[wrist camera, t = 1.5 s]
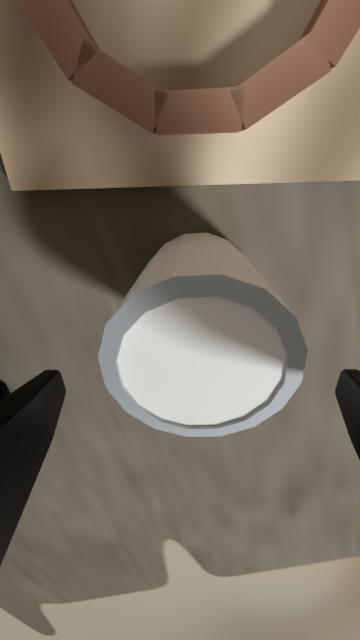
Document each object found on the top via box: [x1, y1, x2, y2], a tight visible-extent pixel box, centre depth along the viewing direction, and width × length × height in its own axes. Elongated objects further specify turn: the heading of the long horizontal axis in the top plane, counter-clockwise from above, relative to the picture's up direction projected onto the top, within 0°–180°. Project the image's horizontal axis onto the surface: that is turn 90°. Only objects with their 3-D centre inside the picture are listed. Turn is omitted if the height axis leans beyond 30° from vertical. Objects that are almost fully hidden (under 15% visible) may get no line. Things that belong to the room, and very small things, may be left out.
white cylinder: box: [98, 233, 308, 437], centre depth 13 cm, size 7×7×7 cm
